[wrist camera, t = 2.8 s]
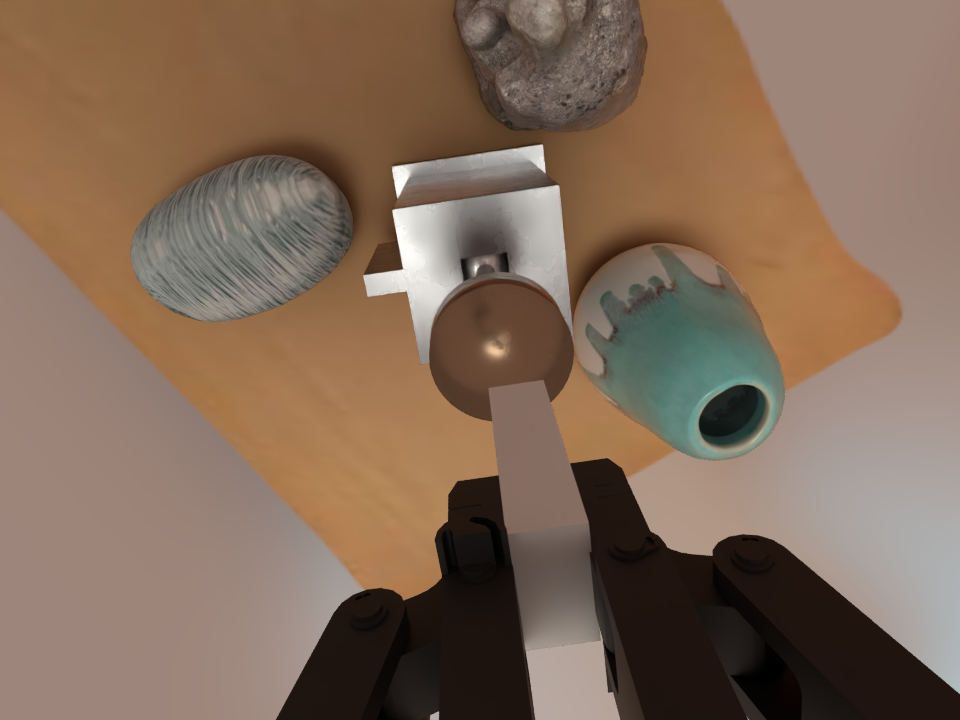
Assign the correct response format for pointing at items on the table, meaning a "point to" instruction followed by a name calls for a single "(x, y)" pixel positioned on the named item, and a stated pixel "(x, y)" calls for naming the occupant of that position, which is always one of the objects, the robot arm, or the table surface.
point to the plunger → (497, 336)
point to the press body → (470, 229)
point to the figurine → (554, 59)
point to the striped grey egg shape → (242, 238)
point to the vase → (680, 350)
